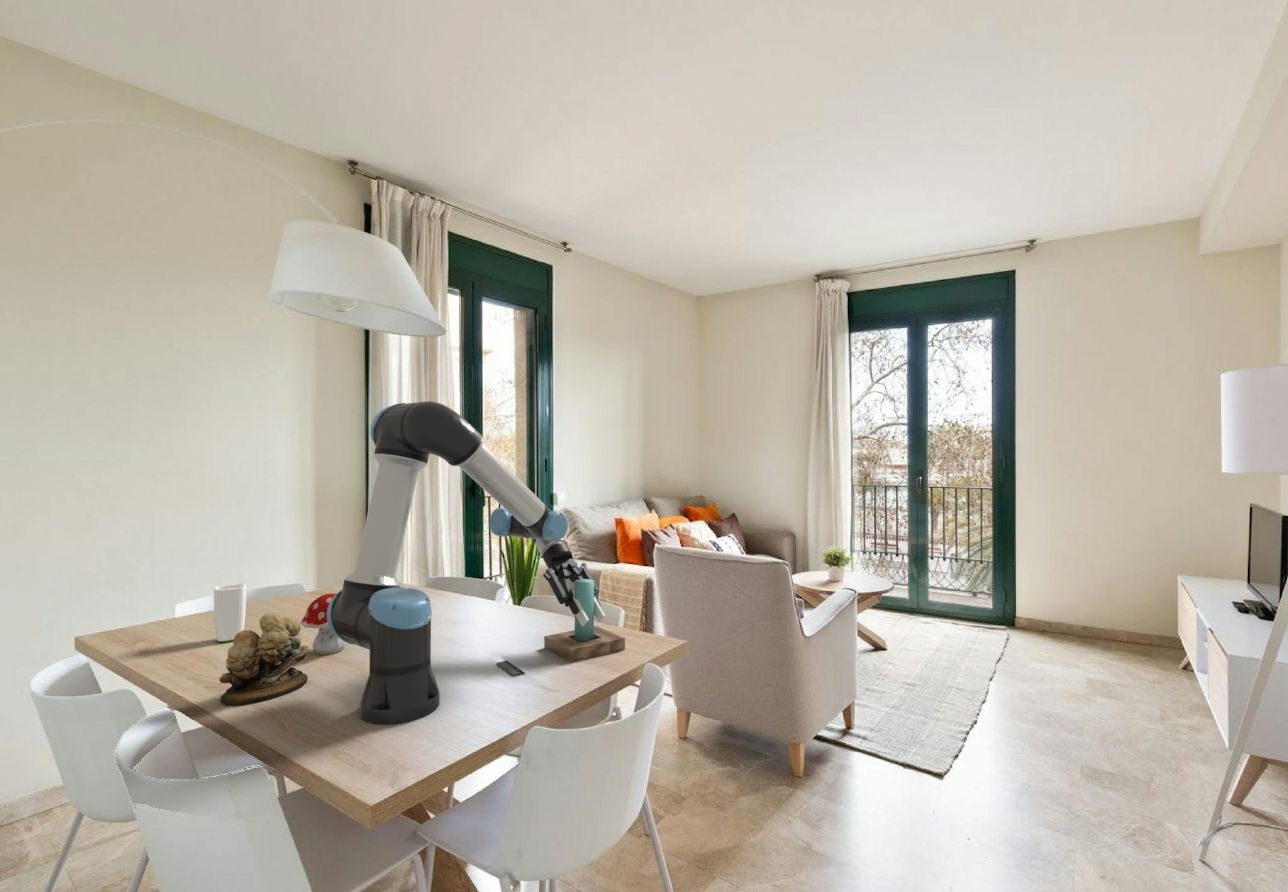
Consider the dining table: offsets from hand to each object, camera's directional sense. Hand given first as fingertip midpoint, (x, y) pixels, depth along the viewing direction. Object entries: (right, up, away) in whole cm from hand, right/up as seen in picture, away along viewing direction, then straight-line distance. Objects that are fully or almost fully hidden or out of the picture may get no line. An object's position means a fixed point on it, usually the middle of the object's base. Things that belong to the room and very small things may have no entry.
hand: (593, 621), depth 157 cm
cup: (-104, -10, +15) cm, 105 cm away
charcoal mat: (-16, -9, -8) cm, 20 cm away
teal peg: (-3, -7, +2) cm, 8 cm away
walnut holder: (-3, -9, +2) cm, 10 cm away
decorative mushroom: (-70, -10, +5) cm, 71 cm away
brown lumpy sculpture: (-70, -9, -22) cm, 74 cm away
